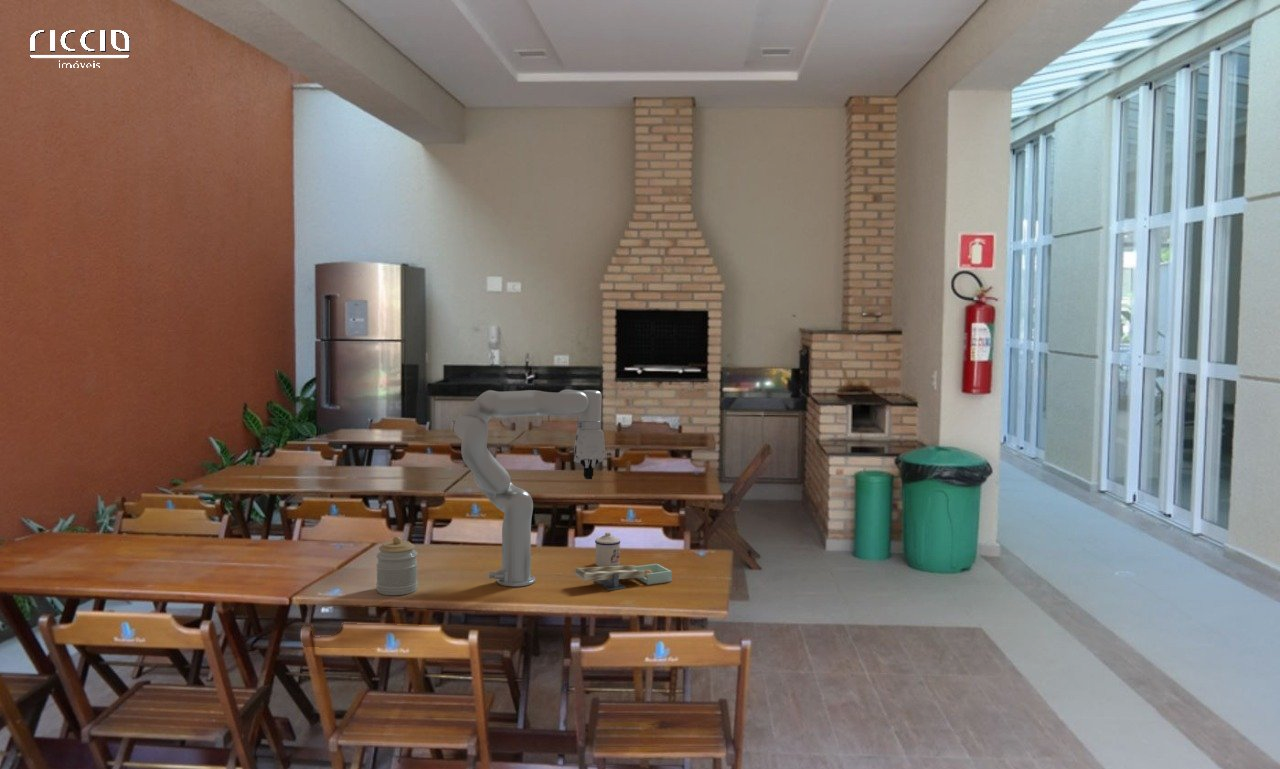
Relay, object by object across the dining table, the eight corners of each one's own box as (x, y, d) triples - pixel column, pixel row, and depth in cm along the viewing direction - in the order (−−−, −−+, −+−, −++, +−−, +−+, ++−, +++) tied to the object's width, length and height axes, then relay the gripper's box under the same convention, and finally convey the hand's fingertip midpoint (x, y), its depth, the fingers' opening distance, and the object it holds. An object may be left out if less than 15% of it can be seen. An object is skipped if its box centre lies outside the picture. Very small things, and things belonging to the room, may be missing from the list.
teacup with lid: (614, 569, 332) (615, 536, 332) (591, 566, 335) (591, 534, 335) (626, 560, 344) (626, 529, 343) (603, 558, 347) (603, 527, 346)
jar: (407, 597, 297) (407, 542, 295) (369, 594, 299) (368, 540, 298) (424, 585, 309) (424, 532, 308) (387, 583, 312) (386, 530, 310)
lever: (584, 580, 304) (584, 572, 304) (568, 570, 316) (569, 563, 316) (644, 577, 315) (645, 569, 314) (627, 567, 326) (627, 560, 326)
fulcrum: (609, 590, 307) (609, 576, 306) (594, 581, 317) (594, 567, 317) (625, 588, 309) (625, 574, 309) (610, 578, 320) (610, 565, 320)
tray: (647, 584, 314) (647, 574, 314) (633, 576, 323) (633, 566, 323) (671, 581, 318) (671, 571, 318) (657, 573, 327) (657, 563, 327)
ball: (651, 568, 318) (656, 575, 319) (646, 566, 321) (651, 573, 322) (644, 575, 317) (649, 581, 318) (640, 572, 320) (645, 579, 321)
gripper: (573, 427, 318) (572, 481, 319) (614, 426, 324) (612, 479, 326) (565, 425, 325) (564, 477, 326) (605, 424, 331) (603, 476, 332)
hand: (588, 478), depth 326 cm, fingers closed
